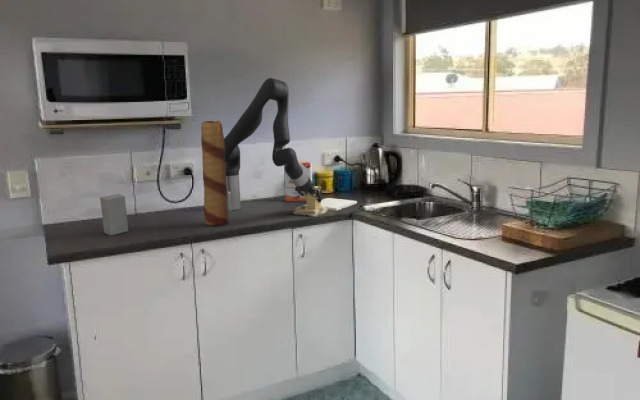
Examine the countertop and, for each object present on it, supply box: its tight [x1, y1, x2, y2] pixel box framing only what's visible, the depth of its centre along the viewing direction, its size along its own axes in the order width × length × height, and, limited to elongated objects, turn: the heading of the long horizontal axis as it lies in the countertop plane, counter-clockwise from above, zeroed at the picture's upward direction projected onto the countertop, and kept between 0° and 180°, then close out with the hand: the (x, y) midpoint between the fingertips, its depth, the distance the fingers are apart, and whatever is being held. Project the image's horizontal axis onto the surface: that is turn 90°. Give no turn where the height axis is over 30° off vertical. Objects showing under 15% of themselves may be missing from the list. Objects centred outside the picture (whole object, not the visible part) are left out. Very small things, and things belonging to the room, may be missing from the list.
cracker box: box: [284, 161, 313, 203], centre depth 274 cm, size 14×6×21 cm, turn 84°
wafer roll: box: [200, 120, 229, 226], centre depth 225 cm, size 10×11×45 cm
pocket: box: [292, 203, 328, 217], centre depth 246 cm, size 12×12×2 cm
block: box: [306, 185, 322, 210], centre depth 248 cm, size 5×5×12 cm
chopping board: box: [321, 197, 358, 211], centre depth 263 cm, size 20×18×1 cm
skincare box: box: [99, 193, 129, 236], centre depth 215 cm, size 8×7×16 cm
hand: (315, 200), depth 250 cm, fingers closed on block, 5 cm apart
